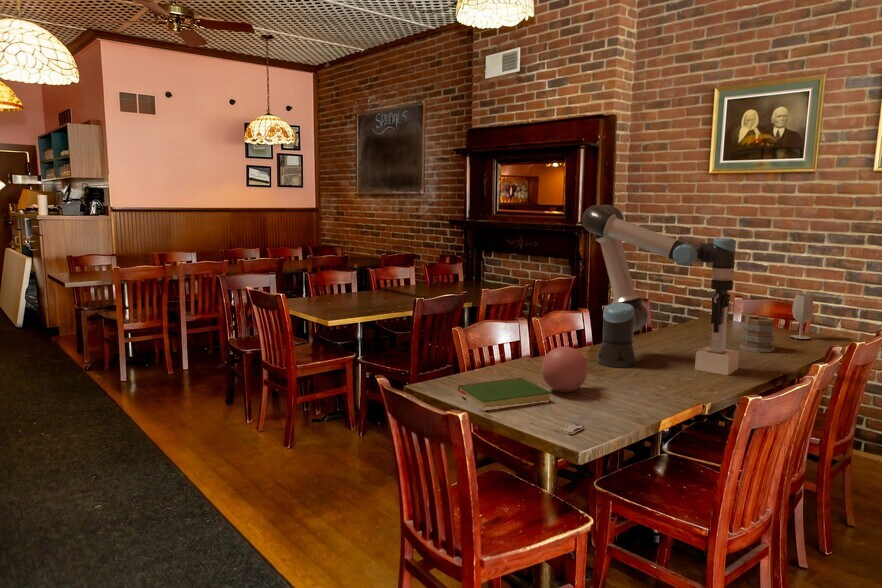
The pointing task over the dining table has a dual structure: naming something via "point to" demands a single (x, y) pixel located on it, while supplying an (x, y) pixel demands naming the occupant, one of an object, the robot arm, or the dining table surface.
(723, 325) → the steel bar
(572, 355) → the matte pink sphere
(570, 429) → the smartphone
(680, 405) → the dining table surface
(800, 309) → the wineglass
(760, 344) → the tankard
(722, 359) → the well block
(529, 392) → the hardcover book
